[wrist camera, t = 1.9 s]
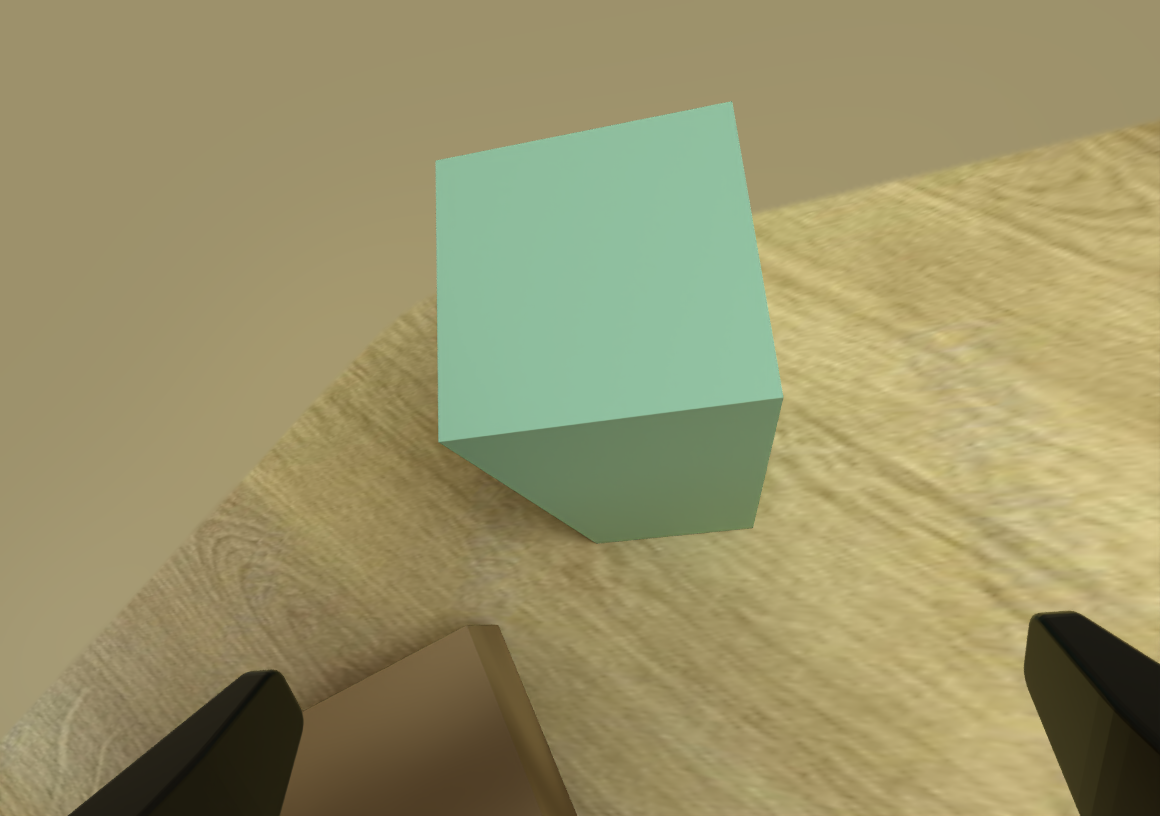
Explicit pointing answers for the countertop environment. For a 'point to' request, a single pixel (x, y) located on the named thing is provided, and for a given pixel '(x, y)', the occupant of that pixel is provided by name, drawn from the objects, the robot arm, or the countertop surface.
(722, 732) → the countertop surface
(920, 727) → the countertop surface
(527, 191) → the teal block
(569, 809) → the walnut block
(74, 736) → the countertop surface
